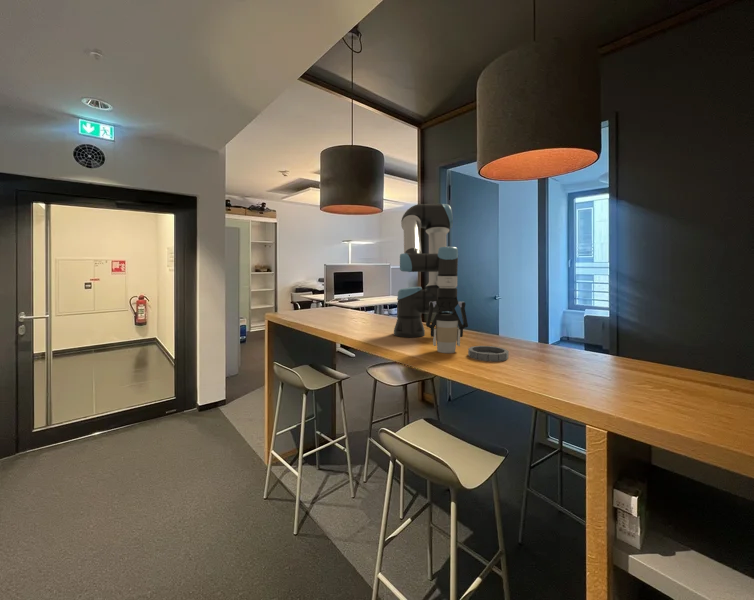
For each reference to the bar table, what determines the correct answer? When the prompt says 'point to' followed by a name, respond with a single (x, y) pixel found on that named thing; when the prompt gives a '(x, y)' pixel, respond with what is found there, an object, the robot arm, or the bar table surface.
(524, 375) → the bar table surface
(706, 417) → the bar table surface
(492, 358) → the tray
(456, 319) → the coffee cup
